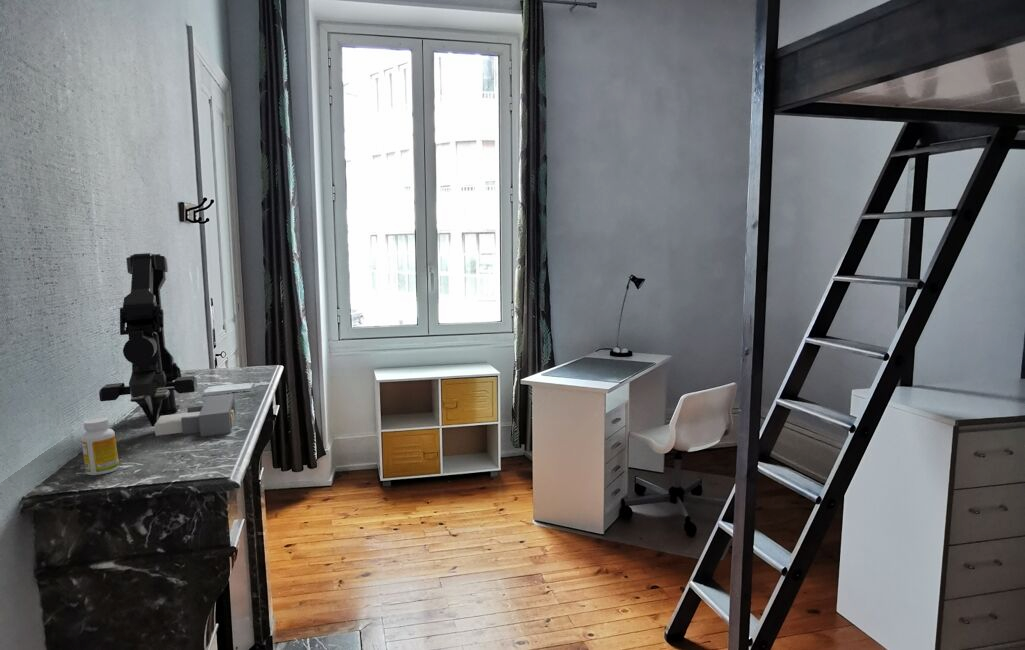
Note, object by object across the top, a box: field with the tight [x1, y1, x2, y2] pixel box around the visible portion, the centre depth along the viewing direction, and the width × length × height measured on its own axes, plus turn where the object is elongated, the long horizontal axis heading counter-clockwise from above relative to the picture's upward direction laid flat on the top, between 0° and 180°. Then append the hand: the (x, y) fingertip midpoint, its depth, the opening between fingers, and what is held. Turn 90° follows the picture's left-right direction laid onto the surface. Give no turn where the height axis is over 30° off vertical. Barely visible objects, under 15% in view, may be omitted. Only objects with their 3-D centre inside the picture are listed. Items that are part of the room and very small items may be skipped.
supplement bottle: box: [80, 417, 120, 476], centre depth 127 cm, size 5×5×10 cm
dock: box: [181, 393, 237, 437], centre depth 157 cm, size 20×10×5 cm, turn 19°
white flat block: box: [153, 411, 200, 437], centre depth 155 cm, size 8×10×2 cm
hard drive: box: [203, 382, 256, 397], centre depth 194 cm, size 2×8×12 cm
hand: (154, 425), depth 153 cm, fingers closed
